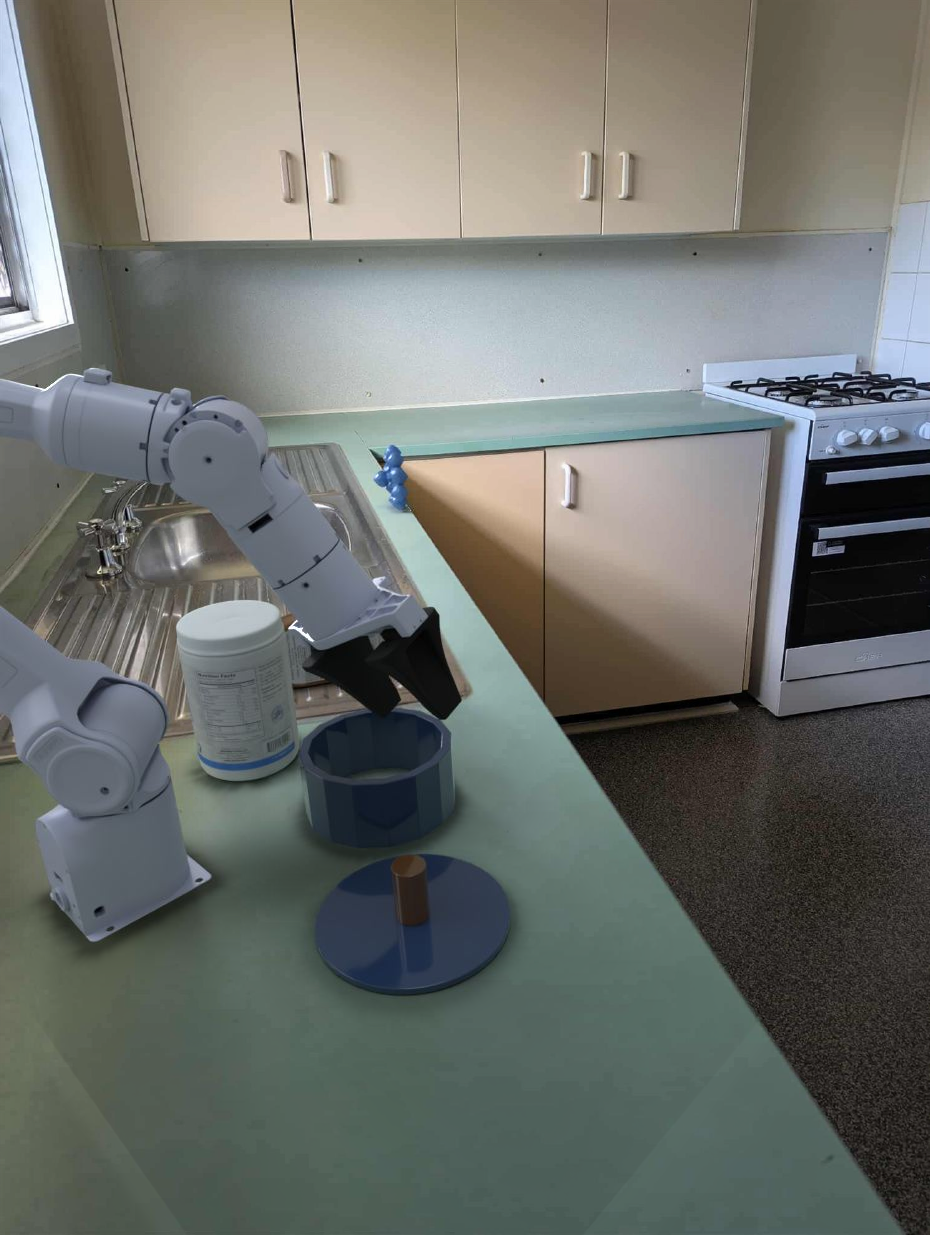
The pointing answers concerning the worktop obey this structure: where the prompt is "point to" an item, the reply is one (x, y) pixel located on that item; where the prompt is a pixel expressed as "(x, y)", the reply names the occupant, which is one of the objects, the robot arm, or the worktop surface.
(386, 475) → the grapes
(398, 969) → the lid
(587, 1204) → the worktop surface
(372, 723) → the crock
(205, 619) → the supplement tub
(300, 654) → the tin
